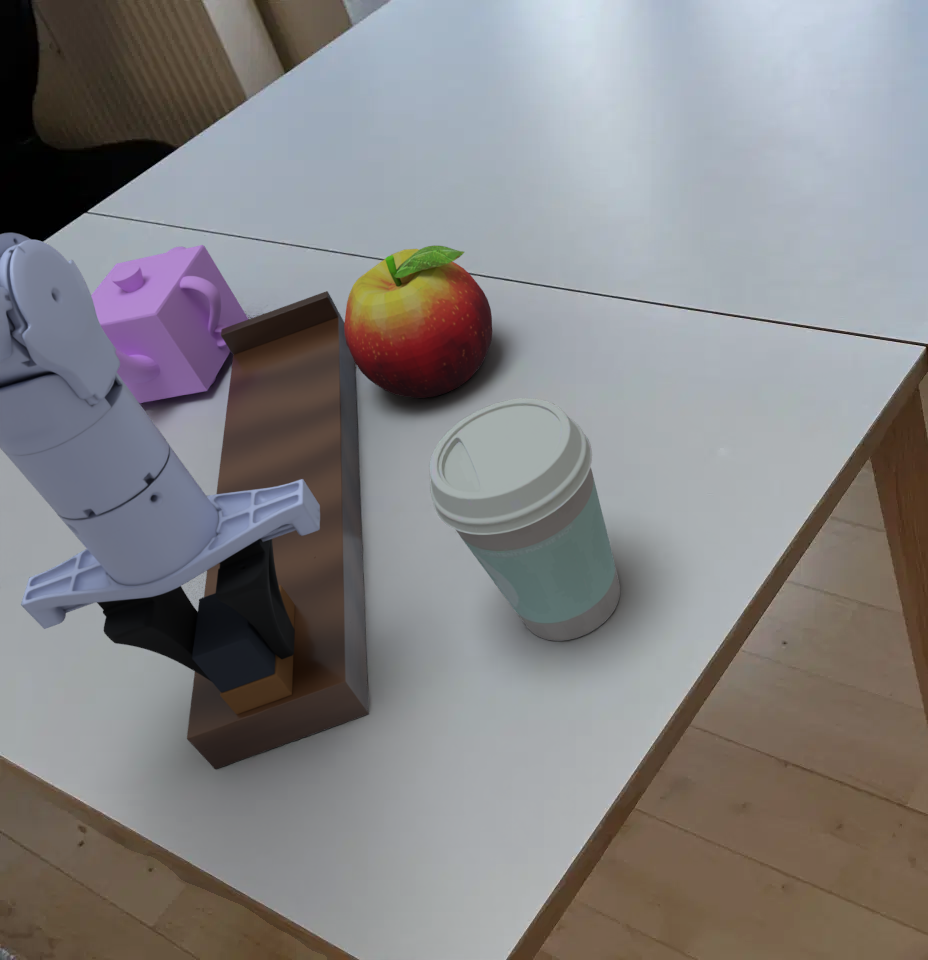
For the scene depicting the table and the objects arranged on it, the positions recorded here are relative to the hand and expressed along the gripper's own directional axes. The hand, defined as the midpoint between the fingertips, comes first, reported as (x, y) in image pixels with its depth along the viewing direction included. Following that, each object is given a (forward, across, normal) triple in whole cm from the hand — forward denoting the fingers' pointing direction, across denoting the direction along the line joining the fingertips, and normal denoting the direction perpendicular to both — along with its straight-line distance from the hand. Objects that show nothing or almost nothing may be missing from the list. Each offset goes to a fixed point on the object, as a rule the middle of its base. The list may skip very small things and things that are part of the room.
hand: (254, 656), depth 60 cm
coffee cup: (+4, -17, 0) cm, 17 cm away
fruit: (+5, -12, -28) cm, 30 cm away
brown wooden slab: (+4, 0, -17) cm, 18 cm away
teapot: (+5, +11, -42) cm, 43 cm away
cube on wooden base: (+1, 0, -1) cm, 2 cm away
